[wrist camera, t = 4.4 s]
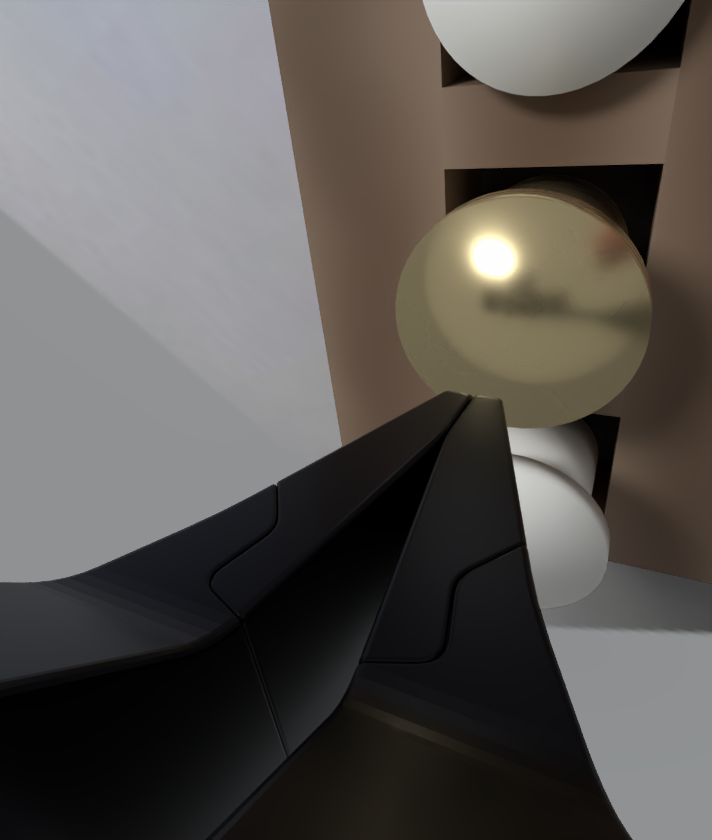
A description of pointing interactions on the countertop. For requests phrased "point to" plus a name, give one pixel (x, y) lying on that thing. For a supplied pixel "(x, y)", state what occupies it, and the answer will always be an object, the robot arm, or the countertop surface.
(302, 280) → the countertop surface
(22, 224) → the countertop surface
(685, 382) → the control panel
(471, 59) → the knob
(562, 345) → the brass knob
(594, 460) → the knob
